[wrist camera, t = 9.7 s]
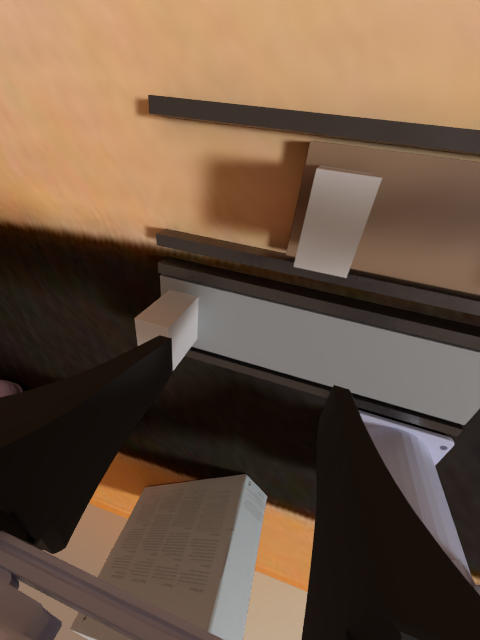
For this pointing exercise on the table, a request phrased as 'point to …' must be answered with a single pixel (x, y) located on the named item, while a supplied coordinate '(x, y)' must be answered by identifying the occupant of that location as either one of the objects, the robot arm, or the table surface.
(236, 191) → the table surface
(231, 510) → the skincare box
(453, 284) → the strip
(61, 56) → the table surface
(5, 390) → the headphones
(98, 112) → the table surface
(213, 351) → the strip
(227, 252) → the lane rails
